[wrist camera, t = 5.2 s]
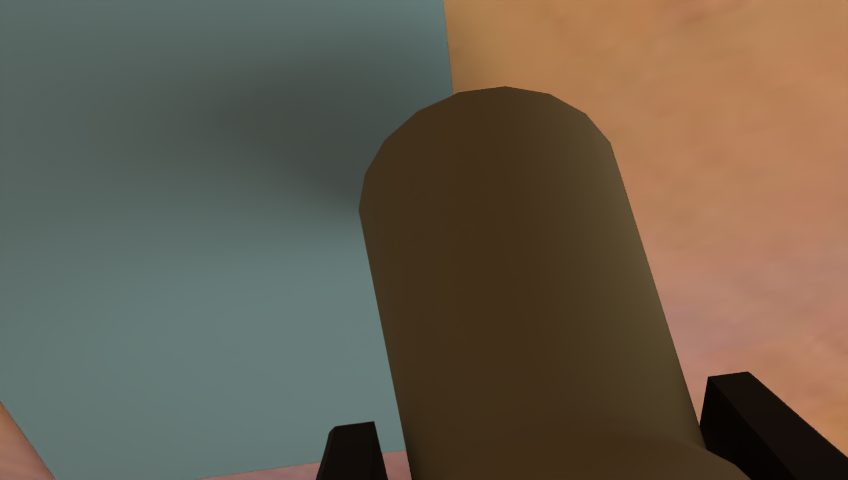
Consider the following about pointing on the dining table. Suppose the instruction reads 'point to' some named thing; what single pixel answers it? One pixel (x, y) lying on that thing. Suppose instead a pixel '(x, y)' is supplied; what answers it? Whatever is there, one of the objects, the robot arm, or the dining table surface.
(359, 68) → the teal board
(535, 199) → the olive game pawn
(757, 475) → the robot arm
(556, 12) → the dining table surface
